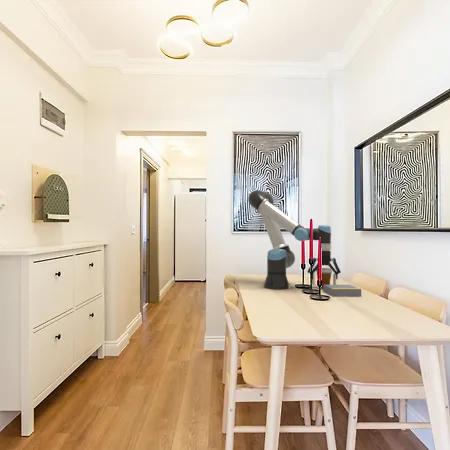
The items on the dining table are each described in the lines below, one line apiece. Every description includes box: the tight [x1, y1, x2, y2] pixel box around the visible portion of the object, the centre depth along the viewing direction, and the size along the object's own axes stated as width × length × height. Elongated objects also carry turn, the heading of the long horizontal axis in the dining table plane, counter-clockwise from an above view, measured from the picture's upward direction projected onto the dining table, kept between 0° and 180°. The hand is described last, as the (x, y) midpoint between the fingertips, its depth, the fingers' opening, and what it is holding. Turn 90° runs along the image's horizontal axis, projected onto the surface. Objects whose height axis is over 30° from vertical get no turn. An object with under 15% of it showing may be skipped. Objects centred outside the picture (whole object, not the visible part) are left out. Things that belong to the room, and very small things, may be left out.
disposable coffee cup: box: [315, 267, 333, 290], centre depth 203 cm, size 10×10×12 cm
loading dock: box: [322, 284, 362, 297], centre depth 186 cm, size 16×14×4 cm
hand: (323, 284), depth 203 cm, fingers open, 13 cm apart
